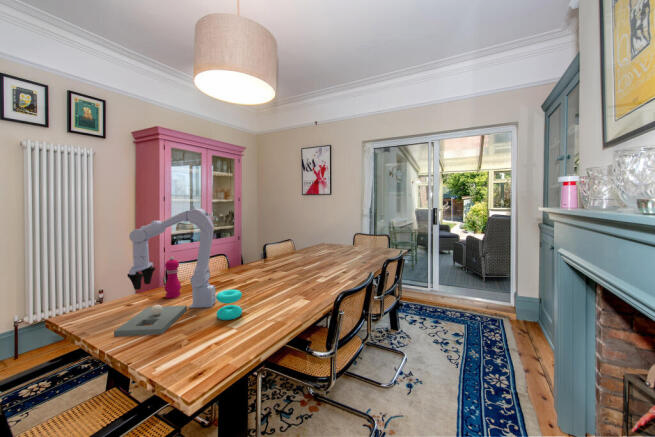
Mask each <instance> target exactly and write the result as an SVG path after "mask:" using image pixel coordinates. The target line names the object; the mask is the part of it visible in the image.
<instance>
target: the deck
mask: <svg viewBox="0 0 655 437" xmlns="http://www.w3.org/2000/svg"><path fill="white" fill-rule="evenodd" d="M161 306H162V305H161ZM152 307H153V306H147V307H145V308H144V309H143V310H141V311H140V312H139V313H137V314H136V315H135V316H133V317H132V318H130V319H129V320H127V321H126V322H124V323H122V324H121V325H119V327H117V328H116V329H114V330H113V336H114V337H130V336H152V335H153V336H157V335H163V334H164V333H165V332H166V331H168V329H169V328H170V327H171V326H172V325H174V324H175V322H176V321H178V319H180V318H181V316H183V315H184V314H185V313H186V312H187V311H188V305H166V306H162V308H163V310H162V312H161V313H160V314H159V315H153V314H152V313H151V308H152Z"/></svg>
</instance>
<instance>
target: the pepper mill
mask: <svg viewBox="0 0 655 437" xmlns="http://www.w3.org/2000/svg"><path fill="white" fill-rule="evenodd" d="M179 266H180V263H179V260H176V259H175V258H174V256H170V257H169V260H167V261H165V265H164V267H165V269H166V274H167V279H166V283H165V285H164V291H165V292H166V293H165V298H167V299H175V298H178V297H180V296H181V291H180V290H181V289H182V284H181V281H180V280H179V277H178V272H179V269H178V268H179Z"/></svg>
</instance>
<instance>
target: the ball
mask: <svg viewBox="0 0 655 437" xmlns="http://www.w3.org/2000/svg"><path fill="white" fill-rule="evenodd" d="M151 307H152V308H151V313H152V314H153V315H159V314H160V313H161V312H162V310H163V308H162V305H161V304H155V305H153V306H151Z"/></svg>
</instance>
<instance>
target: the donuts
mask: <svg viewBox="0 0 655 437" xmlns="http://www.w3.org/2000/svg"><path fill="white" fill-rule="evenodd" d="M242 296H243V293H242V291H240V290H239V289H232V288H231V289H225V290H221V291H219V292H218V293H216V302H219V303H221V304H227V305H224V306H222V307H220V308H219V309H218V310H216V311H217V312H216V317H217V318H218V319H220V320H223V321H229V320H235V319H237V318H239V317H240V316H241V315H242V314H243V308H242V307H241V306H239V305H236V304H233V303H236V302H237V301H239V300H240V299H241V298H242Z"/></svg>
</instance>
